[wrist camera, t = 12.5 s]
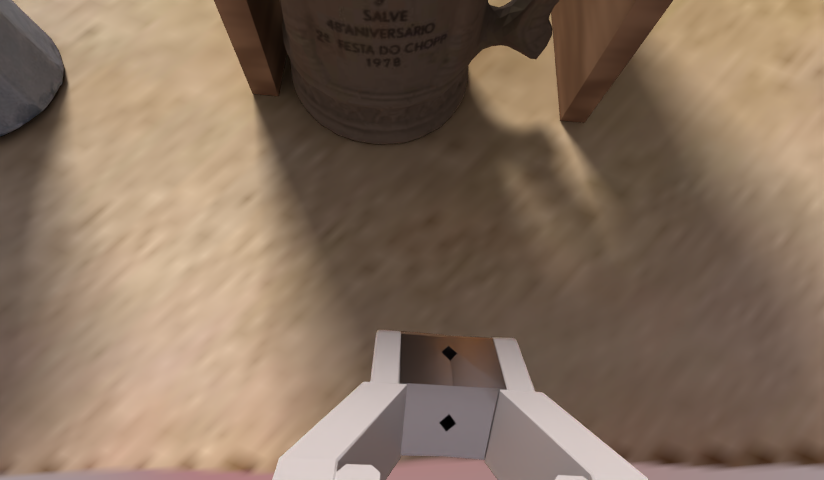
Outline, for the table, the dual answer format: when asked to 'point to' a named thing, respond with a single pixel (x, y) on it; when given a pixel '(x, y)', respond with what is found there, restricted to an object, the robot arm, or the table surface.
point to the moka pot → (25, 68)
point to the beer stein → (398, 58)
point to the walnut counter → (572, 32)
